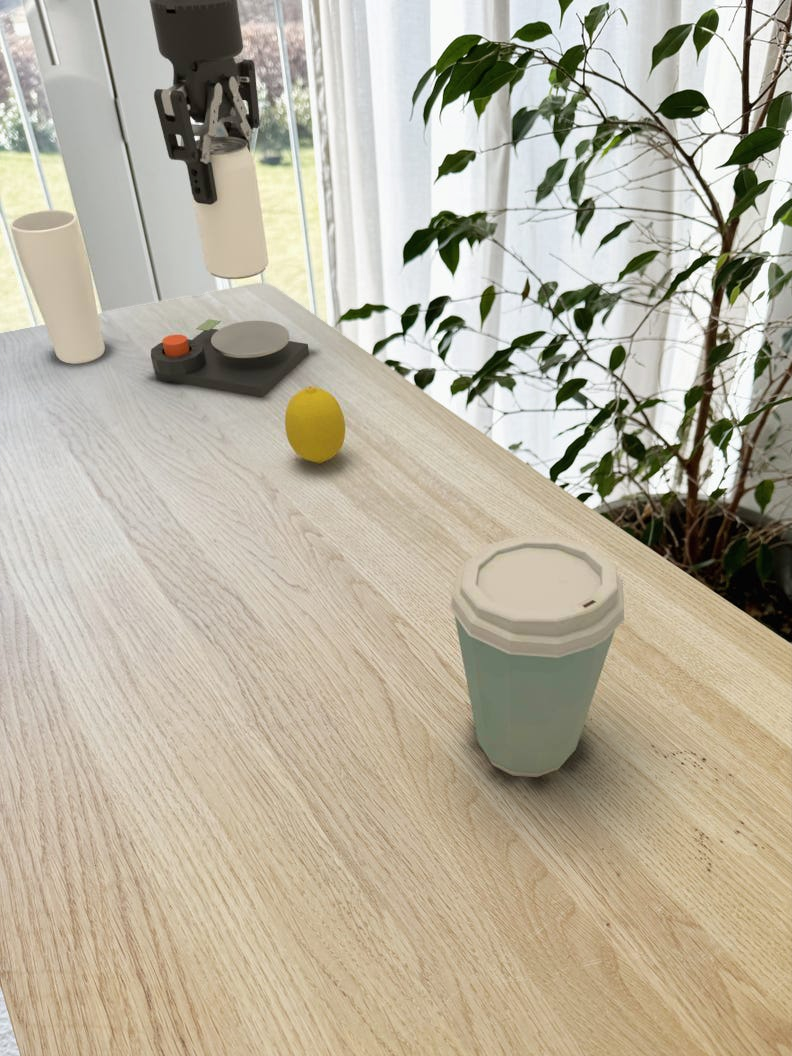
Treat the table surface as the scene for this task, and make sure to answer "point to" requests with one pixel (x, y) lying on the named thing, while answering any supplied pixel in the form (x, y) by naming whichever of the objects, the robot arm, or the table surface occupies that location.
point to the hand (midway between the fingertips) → (224, 190)
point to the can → (232, 214)
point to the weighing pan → (247, 338)
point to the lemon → (315, 424)
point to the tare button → (175, 345)
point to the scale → (226, 367)
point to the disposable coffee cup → (534, 645)
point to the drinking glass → (60, 282)
